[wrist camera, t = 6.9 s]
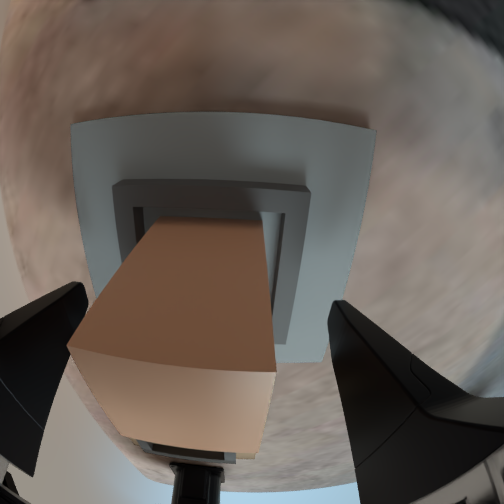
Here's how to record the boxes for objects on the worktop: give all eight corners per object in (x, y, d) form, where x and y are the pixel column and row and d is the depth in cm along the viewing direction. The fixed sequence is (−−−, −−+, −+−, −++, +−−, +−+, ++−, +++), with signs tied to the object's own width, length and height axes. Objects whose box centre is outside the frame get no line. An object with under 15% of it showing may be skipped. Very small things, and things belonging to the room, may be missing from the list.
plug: (255, 304, 12) (258, 453, 6) (168, 298, 12) (121, 435, 6) (262, 220, 11) (276, 371, 4) (160, 216, 10) (66, 345, 4)
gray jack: (319, 354, 15) (324, 375, 13) (115, 339, 15) (106, 358, 13) (370, 129, 9) (388, 132, 8) (78, 123, 9) (56, 126, 8)
